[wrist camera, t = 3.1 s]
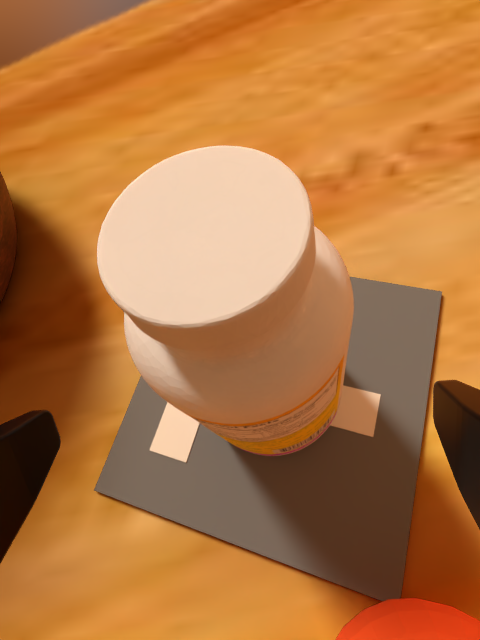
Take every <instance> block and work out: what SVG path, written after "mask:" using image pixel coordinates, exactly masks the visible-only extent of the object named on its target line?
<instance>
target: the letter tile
mask: <svg viewBox="0 0 480 640" xmlns="http://www.w3.org/2000/svg"><path fill="white" fill-rule="evenodd" d="M350 280H351V285H352V290H353V300H354V313H353V320H352V328H351V334H350V340H349V346H348V353H347V360H346V367H345V375H344V382H343V389H342V395H341V400H340V405H339V408H338V411H337V413H336V416H335V417H334V419H333V421H332V423H331V424H330V426H329V427H328V429H327V430H326V431H325V432H324V433H323V434H322V435H321V436H320V437H319V438H318V439H317V440H316V441H315V442H313V443H312V444H310V445H308V446H307V447H305V448H303V449H301V450H299V451H296V452H293V453H290V454H286V455H280V456H264V455H258V454H254V453H250V452H247V451H245V450H242V449H240V448H238V447H236V446H234V445H233V444H231V443H230V442H228V441H226V440H225V439H223V438H222V437H220V436H218V435H217V434H216V433H214V432H213V431H211V430H210V429H208V428H206V427H205V426H204V425H202V424H200V423H199V422H198V421H196V420H194V419H193V418H191V417H190V416H188V415H186V414H185V413H183V412H182V411H180V410H178V409H177V408H175V407H174V406H173V405H171V404H170V403H168V402H167V401H166V400H164V399H163V398H162V397H160V396H159V395H158V394H157V393H156V392H155V391H154V390H153V389H152V388H151V387H150V386H149V385H148V383H147V382H146V381H145V380H144V379H143V377H142V376H141V377H140V380H139V382H138V385H137V387H136V390H135V392H134V394H133V397H132V399H131V402H130V404H129V407H128V409H127V411H126V414H125V416H124V419H123V421H122V424H121V426H120V428H119V431H118V433H117V436H116V438H115V441H114V443H113V445H112V448H111V450H110V453H109V455H108V458H107V460H106V462H105V465H104V467H103V470H102V472H101V475H100V477H99V480H98V482H97V484H96V487H95V489H94V491H97V492H100V493H102V494H105V495H107V496H110V497H113V498H115V499H118V500H120V501H123V502H126V503H128V504H131V505H133V506H136V507H139V508H141V509H144V510H146V511H149V512H152V513H154V514H157V515H159V516H162V517H165V518H167V519H170V520H172V521H175V522H178V523H180V524H183V525H185V526H188V527H191V528H193V529H196V530H198V531H201V532H204V533H206V534H209V535H211V536H214V537H217V538H219V539H222V540H224V541H227V542H230V543H232V544H235V545H237V546H240V547H243V548H245V549H248V550H250V551H253V552H255V553H258V554H261V555H263V556H266V557H268V558H271V559H274V560H276V561H279V562H281V563H284V564H287V565H289V566H292V567H294V568H297V569H300V570H302V571H305V572H307V573H310V574H313V575H315V576H318V577H320V578H323V579H326V580H328V581H331V582H333V583H336V584H339V585H341V586H344V587H346V588H349V589H352V590H354V591H357V592H359V593H362V594H365V595H367V596H370V597H372V598H375V599H378V600H380V601H386V600H388V599H401V593H402V585H403V578H404V570H405V563H406V555H407V548H408V540H409V533H410V526H411V518H412V511H413V503H414V496H415V488H416V481H417V473H418V466H419V458H420V451H421V444H422V436H423V429H424V421H425V414H426V406H427V399H428V391H429V384H430V376H431V369H432V362H433V354H434V347H435V339H436V332H437V324H438V317H439V309H440V302H441V294H442V292H441V291H435V290H429V289H422V288H416V287H410V286H404V285H398V284H392V283H385V282H379V281H373V280H367V279H361V278H355V277H350Z"/></svg>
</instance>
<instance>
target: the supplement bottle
mask: <svg viewBox="0 0 480 640" xmlns="http://www.w3.org/2000/svg"><path fill="white" fill-rule="evenodd" d="M97 263H98V269H99V274H100V277H101V280H102V282H103V284H104V286H105V288H106V290H107V292H108V293H109V295H110V296H111V298H112V299H113V300H114V302H115V303H116V304H117V305H118V306H119V307H120V308H121V309H122V310H123V311H124V327H125V336H126V341H127V345H128V349H129V352H130V354H131V357H132V359H133V362H134V364H135V366H136V367H137V369H138V371H139V373H140V374H141V376H142V377H143V379H144V380H145V381H146V382H147V383H148V385H149V386H150V387H151V388H152V389H153V390H154V391H155V392H156V393H157V394H158V395H159V396H160V397H162V398H163V399H164V400H166V401H167V402H168V403H170V404H171V405H173V406H174V407H175V408H177V409H178V410H180V411H182V412H183V413H185V414H186V415H188V416H190V417H191V418H193V419H194V420H196V421H198V422H199V423H200V424H202V425H204V426H205V427H206V428H208V429H210V430H211V431H213V432H214V433H216V434H217V435H218V436H220V437H222V438H223V439H225V440H226V441H228V442H230V443H231V444H233V445H234V446H236V447H238V448H240V449H242V450H245V451H247V452H250V453H254V454H258V455H264V456H280V455H286V454H290V453H293V452H296V451H299V450H301V449H303V448H305V447H307V446H308V445H310V444H312V443H313V442H315V441H316V440H317V439H318V438H319V437H320V436H321V435H322V434H323V433H324V432H325V431H326V430H327V429H328V427H329V426H330V424H331V423H332V421H333V419H334V417H335V416H336V413H337V411H338V408H339V405H340V400H341V395H342V389H343V382H344V375H345V367H346V360H347V353H348V346H349V340H350V334H351V328H352V320H353V313H354V300H353V290H352V285H351V280H350V277H349V274H348V271H347V268H346V266H345V264H344V262H343V260H342V258H341V256H340V254H339V252H338V251H337V249H336V248H335V246H334V245H333V244H332V243H331V242H330V240H329V239H328V238H327V237H326V236H325V235H324V234H323V233H322V232H321V231H320V230H319V229H318V228H316V227H315V226H314V221H313V213H312V207H311V203H310V200H309V196H308V194H307V192H306V189H305V188H304V186H303V184H302V183H301V181H300V180H299V178H298V177H297V176H296V175H295V174H294V173H293V171H292V170H291V169H290V168H288V167H287V166H286V165H285V164H284V163H282V162H281V161H280V160H278V159H276V158H274V157H272V156H270V155H268V154H266V153H264V152H261V151H258V150H255V149H251V148H246V147H240V146H211V147H205V148H199V149H194V150H190V151H186V152H183V153H180V154H178V155H175V156H172V157H170V158H167V159H165V160H164V161H162V162H160V163H158V164H156V165H154V166H153V167H151V168H150V169H148V170H146V171H145V172H144V173H143V174H141V175H140V176H139V177H138V178H136V179H135V180H134V181H133V182H132V183H131V184H130V185H129V186H128V187H127V188H126V189H125V190H124V191H123V192H122V193H121V195H120V196H119V197H118V198H117V199H116V200H115V202H114V203H113V205H112V207H111V208H110V210H109V212H108V213H107V216H106V218H105V220H104V222H103V224H102V227H101V231H100V234H99V239H98V245H97Z"/></svg>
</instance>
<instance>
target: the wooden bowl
mask: <svg viewBox="0 0 480 640" xmlns="http://www.w3.org/2000/svg"><path fill="white" fill-rule="evenodd" d="M16 248H17V230H16V222H15V215H14V210H13V205H12V202H11V199H10V196H9V192H8V189H7V186H6V184H5V181H4V178H3V176H2V174H1V172H0V303H1V300H2V298H3V296H4V294H5V291H6V289H7V286H8V283H9V280H10V277H11V274H12V270H13V266H14V262H15V256H16Z"/></svg>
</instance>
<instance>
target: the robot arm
mask: <svg viewBox="0 0 480 640" xmlns="http://www.w3.org/2000/svg"><path fill="white" fill-rule="evenodd" d="M433 418H434V424H435V427H436V430H437V432H438V435H439V438H440V440H441V443H442V446H443V448H444V451H445V454H446V456H447V459H448V462H449V464H450V467H451V470H452V472H453V475H454V478H455V480H456V483H457V485H458V488H459V490H460V492H461V494H462V496H463V498H464V500H465V502H466V504H467V506H468V508H469V510H470V512H471V514H472V516H473V518H474V520H475V521H476V523H477V525H478V527H479V529H480V390H479V389H476V388H474V387H472V386H469V385H467V384H464V383H462V382H460V381H457V380H445V381H437V382H436V383H435V384H434V389H433ZM59 448H60V436H59V433H58V430H57V427H56V424H55V421H54V419H53V416H52V414H51V413H50V412H49V411H48V410H35V411H30V412H28V413H26V414H24V415H21V416H19V417H17V418H15V419H12V420H10V421H8V422H6V423H4V424H1V425H0V563H1V562H2V560H3V558H4V556H5V555H6V553H7V551H8V549H9V548H10V546H11V544H12V542H13V540H14V539H15V537H16V535H17V533H18V532H19V530H20V528H21V526H22V525H23V523H24V521H25V519H26V517H27V516H28V514H29V512H30V510H31V508H32V507H33V505H34V503H35V501H36V499H37V496H38V494H39V492H40V490H41V488H42V486H43V483H44V481H45V479H46V477H47V474H48V472H49V470H50V468H51V466H52V463H53V461H54V459H55V457H56V455H57V452H58V450H59Z"/></svg>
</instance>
